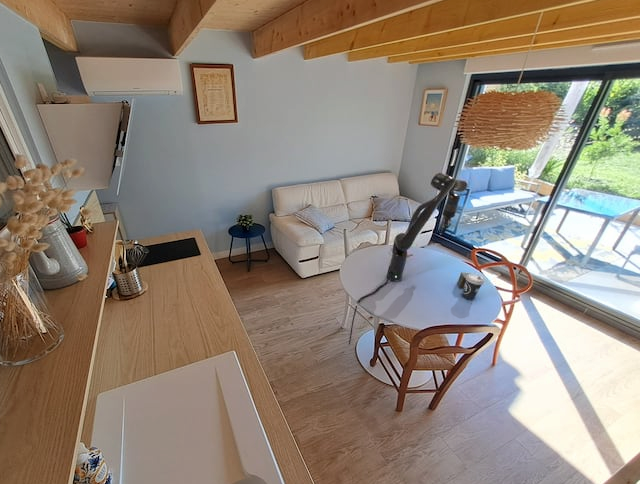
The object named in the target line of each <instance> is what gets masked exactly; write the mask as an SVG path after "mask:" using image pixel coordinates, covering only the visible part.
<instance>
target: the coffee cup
mask: <svg viewBox="0 0 640 484" xmlns="http://www.w3.org/2000/svg"><path fill="white" fill-rule="evenodd" d="M484 283H485V281H484V278H483V277H482V276H481V275H479V274H475V273H471V274H469V275H468V276H467V277H466V282H465V286H464V289H463V290H462V294H461V297H462V298H463V299H465V300H468V301H473V300H474V299H475V298H476V296H477V295H478V292H479V291H480V289H481V287H482V285H484Z"/></svg>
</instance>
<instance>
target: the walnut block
mask: <svg viewBox="0 0 640 484" xmlns="http://www.w3.org/2000/svg"><path fill="white" fill-rule="evenodd" d="M469 274H472V273H470V272H460V275H459V277H458V280H457V286H458V288H459V289H463V290H464V286H465V282H466V277H467V276H468V275H469Z"/></svg>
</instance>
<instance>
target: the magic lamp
mask: <svg viewBox="0 0 640 484" xmlns="http://www.w3.org/2000/svg"><path fill="white" fill-rule="evenodd" d="M390 252H391V253H390ZM388 254H389V255H390V256H392V254H393V247H390V250H389V251H388ZM412 256H413V257H414V254H407V259H408V258H410V257H412Z"/></svg>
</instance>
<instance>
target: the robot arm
mask: <svg viewBox="0 0 640 484" xmlns="http://www.w3.org/2000/svg"><path fill="white" fill-rule="evenodd" d="M430 186H431V187H432V188H433V189H435V190H437V191H439V193H438V194H437V195H435V196H434V197H432V198H431V199H429V200H427V201H425V202H423V203H421V204H420V205H418V206H417V208H416V209H415V211H414V212H413V213H412V215H411V217H410V220H409V224H408V227H407V229H406V231H405V232H400V233H397V234H396V236H395V237H394V240H393V244H392V248H393V249H392V251H393V254H392V253H391V257H390V258H391V259H390V263H389V265H388V269H387V272H386V273H387V274H386V278H387V279H386V281H385V282H384V283H383V284H382V285H380V286H378V287H377V288H376V289H375V290H374V291H373V292H370V293H368V294H366V295H363V296H362V297H360V298H358V300H357V303H358V304H359V303H360V301H361V300H363V299H364V298H366V297H369V296H372V295H374V294H375V293H377V292H378V290H379V289H381V288H382V287H384V286H386V285H387V283H388V281H389V280H390V281H391V282H400V281H402V279H403V275H404V270H405V266H406V262H407V259H408V258H407V255H408V250H410V248H411V247H412V246H413V244H414V242H415V240H416V238H417V236H418V235H419V233H420V232H421V231H422V230H423V228H424V227H425V225H426V224H427V222H428V221H429V219H430V218H431V217H432V215H433V213H434V212H435V211H436V209H437V208H438V206H439V205H440V203H441V202H442V201H443V200H444V198H446V196H447V199H446V202H445V204H444V207H443V211H442V220H441V225H442V226H441V227H442V228H441V233H442V234H445V233H446V231H447V229H449V227H451V225H452V223H451V221H452V219H453V218H454V217H456V214H457V210H458V207H459V202H460V199H461V195H460V194H458V193H459V192H460V193H463V192H465V191H467V188H468V182H467V181H466V180H460V179H456V178H455V177H452V176H451V175H448V174H446V173H443V172H437V173H436V174H435V175H434V176H433V177H432V179H431V181H430ZM456 192H458V193H456ZM357 309H358V305H355V308H354V311H353V315H352V320H351V327H350V333H349V340H348V345H351V340H352V333H353V327H354V322H355V316H356V312H357Z"/></svg>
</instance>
